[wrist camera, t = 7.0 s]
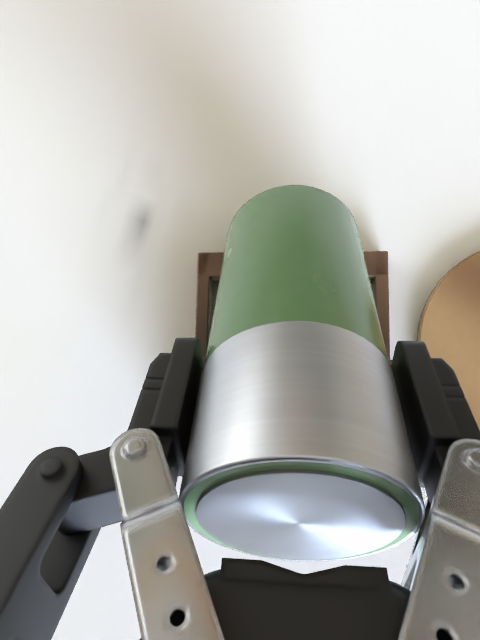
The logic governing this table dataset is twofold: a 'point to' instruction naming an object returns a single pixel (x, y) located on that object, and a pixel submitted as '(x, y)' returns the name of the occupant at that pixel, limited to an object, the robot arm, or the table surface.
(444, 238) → the table surface
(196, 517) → the green can
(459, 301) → the cork coaster
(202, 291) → the walnut rest
